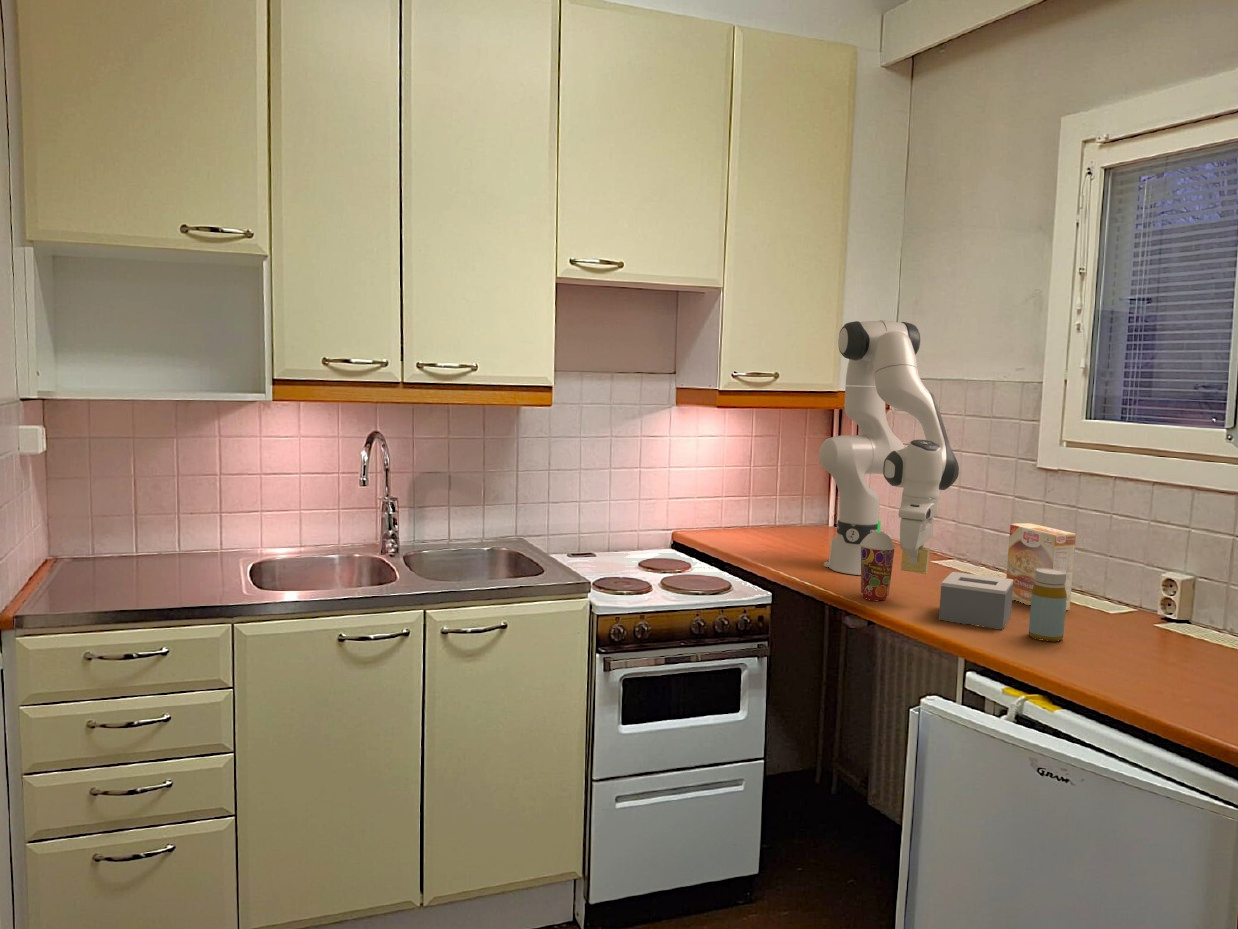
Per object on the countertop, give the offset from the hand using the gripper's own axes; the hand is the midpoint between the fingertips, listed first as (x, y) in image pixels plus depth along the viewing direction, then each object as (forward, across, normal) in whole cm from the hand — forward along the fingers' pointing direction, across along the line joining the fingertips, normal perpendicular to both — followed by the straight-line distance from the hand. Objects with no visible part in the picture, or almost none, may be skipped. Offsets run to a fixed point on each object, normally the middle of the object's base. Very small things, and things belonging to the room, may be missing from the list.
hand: (915, 561), depth 235 cm
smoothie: (+11, 0, -9) cm, 14 cm away
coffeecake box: (+11, -19, +27) cm, 35 cm away
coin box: (+10, +5, +16) cm, 19 cm away
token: (+2, 0, 0) cm, 2 cm away
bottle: (+10, +13, +32) cm, 36 cm away
